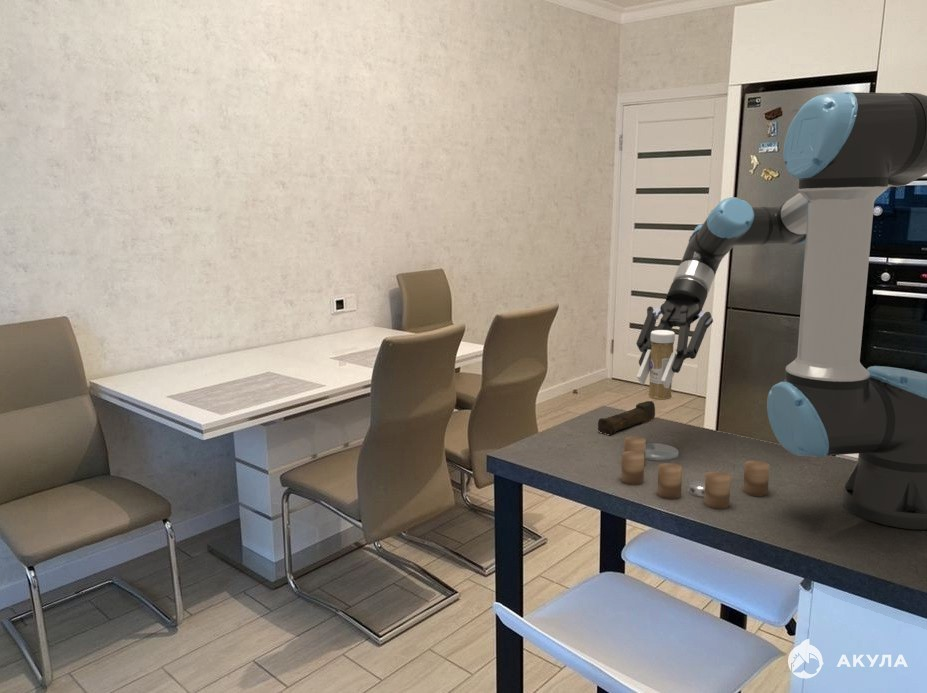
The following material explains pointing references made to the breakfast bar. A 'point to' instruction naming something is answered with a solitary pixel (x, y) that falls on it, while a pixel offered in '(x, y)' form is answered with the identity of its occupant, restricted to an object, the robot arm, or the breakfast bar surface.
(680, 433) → the breakfast bar surface
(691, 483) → the silver rounded piece
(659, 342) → the sprinkles bottle
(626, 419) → the dark brown elongated piece
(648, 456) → the coaster
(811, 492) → the breakfast bar surface
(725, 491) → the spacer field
